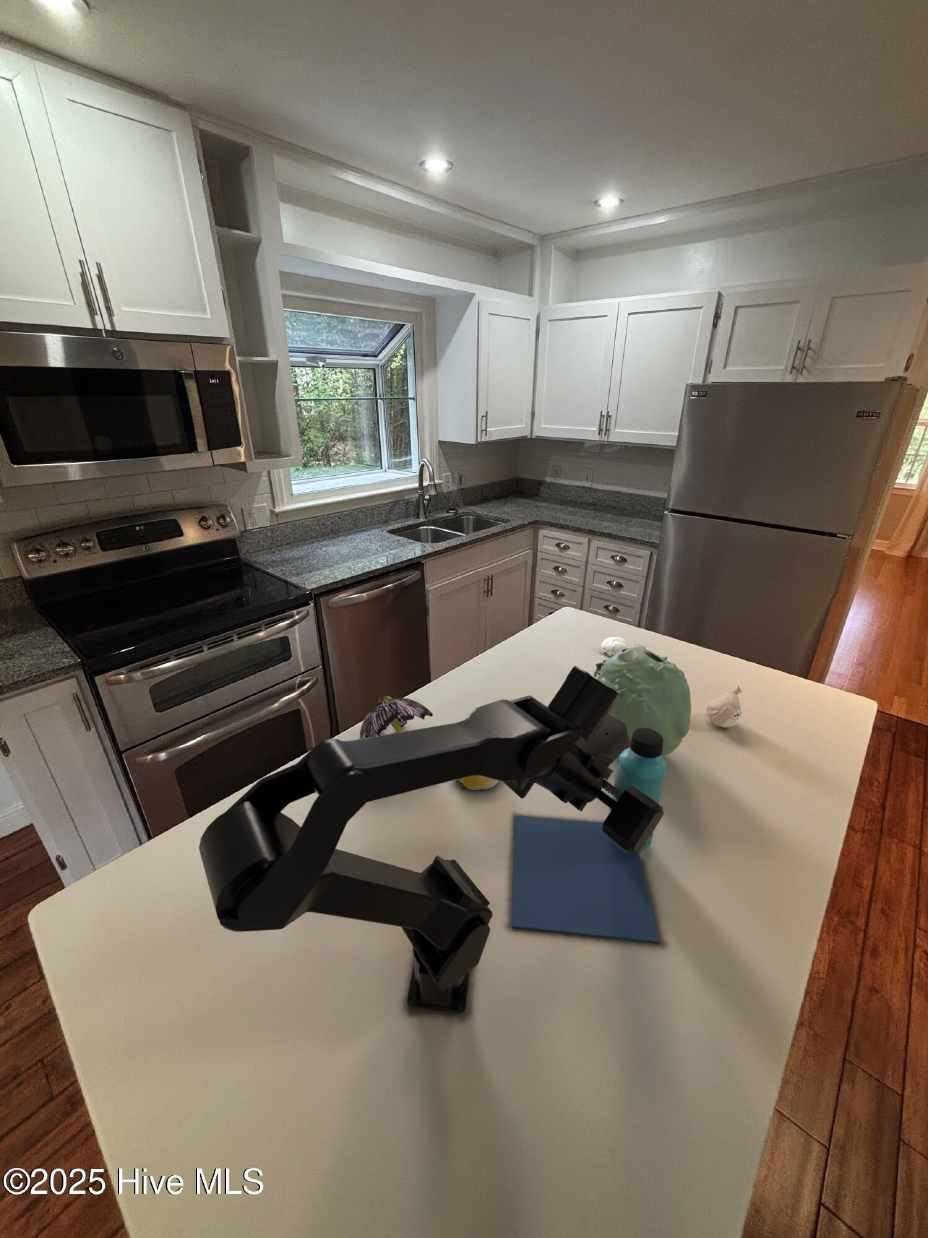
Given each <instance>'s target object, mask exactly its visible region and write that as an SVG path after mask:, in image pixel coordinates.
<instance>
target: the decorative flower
mask: <svg viewBox="0 0 928 1238" xmlns="http://www.w3.org/2000/svg"><path fill="white" fill-rule="evenodd" d="M426 716H429V717H433V716H434V713H433V712H432V711H431V710H430V709H429V708H427V707H426V706H425V705H423V704H422V703H420V702H418V701H416V700H414V699H411V698H406V697H397V698H396V697H395V698H393V696H389V695H384V696H381V697H380V698H378V699H377V706H375V707H374V708H372V709H371V710H370V711H369V712H368V713H367V714H366V716H365V717H364V719H363V721H362V724H361V726H360V731H359V739H363V738H369V737H375V736H381V734H382V732H383V731H385V730H387V727H390V726H391V727H393V728H394V730H395V731H396V733H399V732H405V731H404V730H403V727H405V725H407V724H408V721H411V720H414V719H415V717H418V718H419V719H421V720H425V718H426Z"/></svg>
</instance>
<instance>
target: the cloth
mask: <svg viewBox="0 0 928 1238" xmlns="http://www.w3.org/2000/svg"><path fill="white" fill-rule="evenodd" d="M603 823H604V822H597V821H588V820H587V821H586V820H575V819H565V818H564V819H563V818H551V817H550V818H549V817H539V816H528V815H514V826H513V827H514V831H513V833H514V834H513V866H512V868H513V869H512V870H513V871H512V907H511V909H512V910H511V912H512V913H511V928H514V929H515V928H516V929H526V930H534V931H542V932H543V931H544V932H551V933H553V932H554V933H563V934H572V935H580V936H592V937H599V938H607V939H608V938H609V939H616V940H617V939H618V940H627V941H637V942H646V943H656V944H661V939H660V935H659V931H658V926H657V922H656V919H655V914H654V911H653V905H652V902H651V898H650V894H649V889H648V886H647V882H646V877H645V873H644V869H643V865H642V861H641V857H640V853H636V854H632V853H628V852H625V851H622V850H620V849H619V848H617V847H616V846H615V845H614V844H613V843H612V842H611V840H610V839H609V836H608V835H606V834H605V833H604V832H603V831H602V829H603Z"/></svg>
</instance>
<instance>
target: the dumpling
mask: <svg viewBox="0 0 928 1238" xmlns="http://www.w3.org/2000/svg"><path fill="white" fill-rule="evenodd" d="M600 648H601V649H602V650H603V651H606V654H607V656H609V657H612V656H611V655H610V654H617V652H618V651H620V650H622V649H623V648H628V642H627V641H626V640H625V638H622V637H619V636H610V637H608V638H605V639H603V640H602V642H601V643H600Z"/></svg>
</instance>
